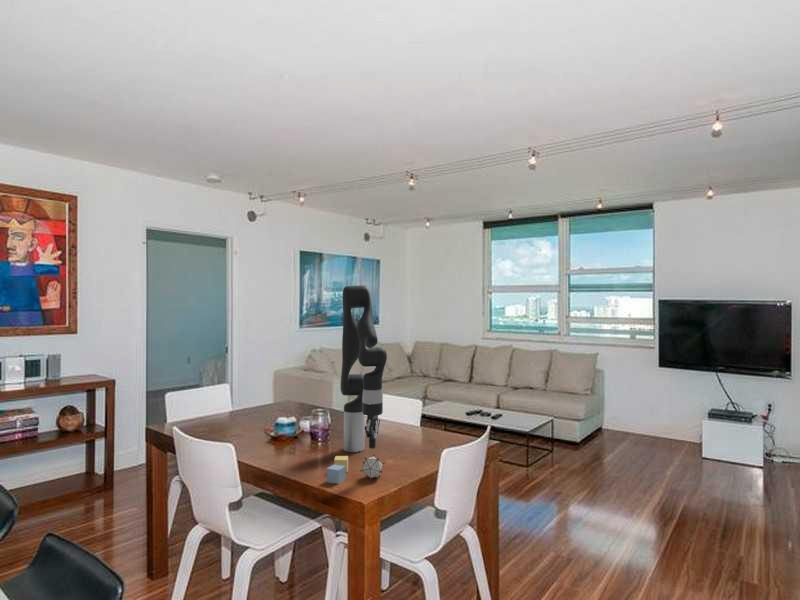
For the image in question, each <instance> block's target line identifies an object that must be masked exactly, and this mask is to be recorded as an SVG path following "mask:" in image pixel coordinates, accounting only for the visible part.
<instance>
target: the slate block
mask: <svg viewBox="0 0 800 600" xmlns="http://www.w3.org/2000/svg"><path fill="white" fill-rule="evenodd" d="M346 475H347V473H346V466H341V465H334V464H332V465H331V466H328V467H327V468H326V483H330V484H335V483H336V484H335V485H340V484H341V483H343V482H345V481H346V480H347V479H346V477H347V476H346ZM345 479H346V480H345ZM342 481H343V482H342ZM339 483H340V484H339Z"/></svg>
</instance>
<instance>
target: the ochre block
mask: <svg viewBox="0 0 800 600" xmlns="http://www.w3.org/2000/svg"><path fill="white" fill-rule="evenodd" d="M333 461H334V463H333V465H341V466H346V472H347V473H348V472H349V455H336V456H335V457H334V460H333Z"/></svg>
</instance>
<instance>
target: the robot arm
mask: <svg viewBox="0 0 800 600" xmlns="http://www.w3.org/2000/svg"><path fill="white" fill-rule="evenodd" d="M372 305H373V304H372V298H371V293H370V289H369V287H368V286H366V285H348V286H344V287H343V290H342V319H343V321H342V341H341V346H342V347H341V352H342V354H341V355H342V356H341V357H342V359H341V360H342V361H341V362H342V363H341V374H340V392H341V395H343V396H356V398H354V399H352V400H351V401H349V402H346V403H345V404H344V405H343V451H345V452H346V453H347V452H348V453H359V451H360V452H363V451H364V450H365V437H366V438H368V447H369V449H376V447H377V437H378V436H377V435H378V434H379V429H380V424H381V419H379V416H381V415H382V414H383V412H384V411H383V410H384V409H383V408H384V407H383V405H384V403H383V401H384V399H383V398H384V397H383V375H384V370H385V366H386V363H387V359H388V355H387V350H386V349H385V348H384V347H381V346H379V347H378V346H377V347H376V345H377V344H378V341H379V340H378V336H377V332H376V331H377V330H376V328H375V325H374V324H375V323H374V315H373V306H372ZM360 308H361V309H362V308H363V312H362V315H361V317H360V318H359V320H358V323H357V322H356V320H355V319H354V316H353V313H352V309H360ZM357 361H358V362H359V364H360V365H361V366H362V367H366V368H367V367H368V368H370V367H375V368H374V369H373V371H370V372H366V373H364V374H362V373H358V374H357V373H356V374H353V373H352V374H350V372H351V369H352V368H353V366H354V364H355V363H356V362H357ZM365 417H366V418H365ZM365 420H366V421H365ZM365 435H366V436H365Z"/></svg>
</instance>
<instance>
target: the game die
mask: <svg viewBox="0 0 800 600" xmlns="http://www.w3.org/2000/svg"><path fill="white" fill-rule="evenodd" d="M375 454H376V453H375ZM375 454H373V456H371V457H368V458H367V457H364V460H365V461H363V462H362V464H363V465H362V469H360V470H359V472H363V473H364V474H365V475H366V477H369V478H370V481H372V479H373V478H376V477H379V478H380V477H381V475H380V474H381V473H383V471H382V468H383V465H385V464H386V463H385V462H382V461H380V460H379V459H380V458H379V457H378V458H377V457H376V456H375Z"/></svg>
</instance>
